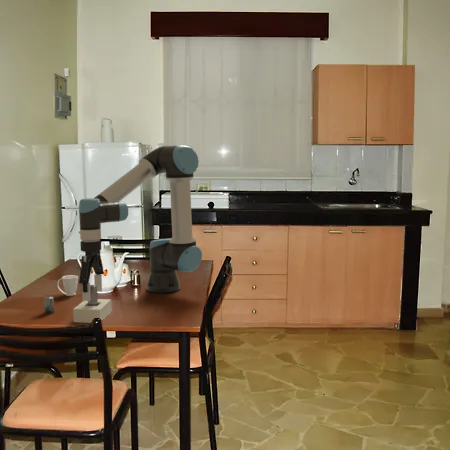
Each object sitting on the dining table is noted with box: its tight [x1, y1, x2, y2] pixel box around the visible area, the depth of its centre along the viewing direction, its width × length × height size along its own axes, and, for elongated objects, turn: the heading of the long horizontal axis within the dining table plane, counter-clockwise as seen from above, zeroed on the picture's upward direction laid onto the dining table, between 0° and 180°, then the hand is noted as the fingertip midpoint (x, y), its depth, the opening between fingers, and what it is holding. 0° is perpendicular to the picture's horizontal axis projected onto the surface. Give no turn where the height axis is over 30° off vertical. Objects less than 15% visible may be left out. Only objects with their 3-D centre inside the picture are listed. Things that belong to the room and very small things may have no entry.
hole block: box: [72, 298, 113, 324], centre depth 204 cm, size 10×14×5 cm
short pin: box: [43, 295, 55, 315], centre depth 210 cm, size 4×4×6 cm
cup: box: [56, 274, 79, 297], centre depth 237 cm, size 7×10×8 cm
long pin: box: [88, 284, 99, 306], centre depth 204 cm, size 4×4×12 cm
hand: (92, 295), depth 204 cm, fingers open, 13 cm apart
